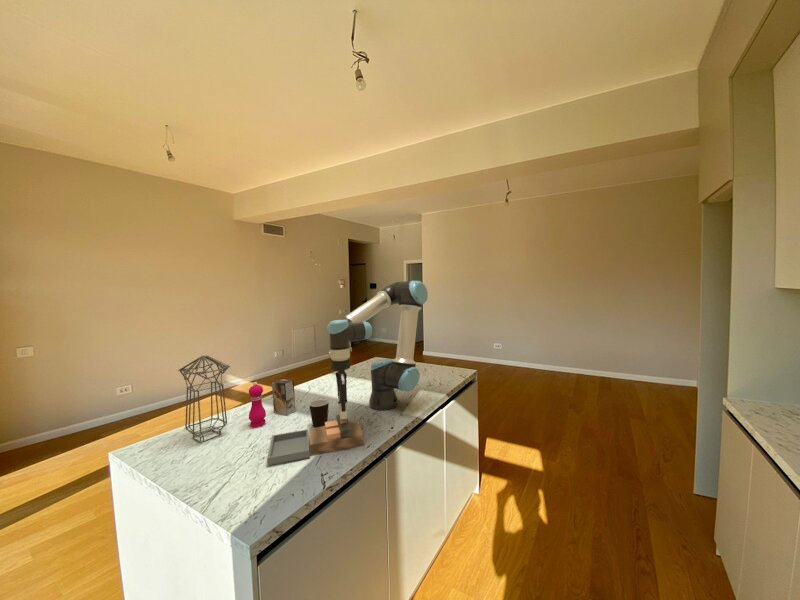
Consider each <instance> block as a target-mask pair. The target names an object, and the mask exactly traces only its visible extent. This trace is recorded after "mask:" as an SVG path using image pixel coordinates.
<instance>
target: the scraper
mask: <svg viewBox="0 0 800 600" xmlns="http://www.w3.org/2000/svg"><path fill="white" fill-rule="evenodd" d="M338 400H339V402H340V396H339V399H338ZM339 412H340V406H339V405H338V413H339ZM335 417H336V418H335V419H336V420H337V422H338V427H339V430H340V435H341V438H343V437H349V436H352V429H351V427H350V424H349V422H350V421H349V418H348V417H347V419H341V420H340V416H339V414H337V415H335Z"/></svg>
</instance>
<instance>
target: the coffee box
mask: <svg viewBox="0 0 800 600" xmlns="http://www.w3.org/2000/svg"><path fill="white" fill-rule="evenodd" d="M294 381H295V380H294V379H287V378H279V379H276V380H274V381H272V382H271V389H272V406H273V414H274V413H275V414H276V415H284V416H289V415H291V414H292V413H294V412H296V411H297V408H296V395H295V382H294Z"/></svg>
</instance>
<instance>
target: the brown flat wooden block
mask: <svg viewBox="0 0 800 600" xmlns="http://www.w3.org/2000/svg"><path fill="white" fill-rule="evenodd" d="M349 424H350V427H351V429H352V436H349V437H343V438H337V439H331V440H327V436H326V430H325V426H322V427H316V428H315V427H312V428H309V429H308V430H309V455H310V456H315V455H320V454H324V453H331V452H335V451H340V450H341V451H342V450H345V449H350V448H355V447H360V446H365V437H364V432H363V429H362V428H361V425H360V423H359V420H353V421H349ZM340 436H341V435H340Z"/></svg>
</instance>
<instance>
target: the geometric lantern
mask: <svg viewBox="0 0 800 600" xmlns="http://www.w3.org/2000/svg"><path fill="white" fill-rule="evenodd" d="M206 363H207V364H206ZM201 365H202V366H201ZM213 365H216V368H217V369H213ZM206 367H208V368H206ZM229 368H231V366H230V365H229V364H226V363H225V362H222V361H220V360H218V359H215V358H213V357H211V356H209V355H201V356H199V357H198V358H196V359H194V360H192V361H191V362H189V363H188V364H186V365H184V366H182V367H181V368H179V369H178V370H177V372H180V374H181V375H182V377H183V380H185V385H186V400H185V401H186V403H185V405H186V406H185V426H184V427H185V428H184V429H185V430H186V431H188V433H190V434H192V439H193V440H194V441H196V442H198V443H201V444H202V443H205V442H207V441H209V440H211V439H214V438H217V437H219V436H221V433H222V430H223V428H225V427H226V425H228V419H227V418H228V417H227V410H226V408H227V407H226V401H225V399H226V398H225V389H224V384H223V383H222V382H223V381H222V380H223V379H222V378H223V377H222V376H223V374H225V372H226V371H227V370H229ZM199 369H202V371H198V370H199ZM209 369H210V370H209ZM194 371H195V372H194ZM217 371H218V372H217ZM215 372H217V373H216V374H215ZM208 373H212V374H213V375H212V376H210V377H209V376H208V375H207V374H208ZM187 375H188V376H187ZM191 375H193V378H192V380H190V377H191ZM196 376H199V377H201V378H203V379H204V380H203V381H202V382H201V383H200V384H195V385H193V383H194V381H195V378H196ZM216 376H217V377H216ZM219 377H220V382H219V381H218V379H219ZM211 379H215V380H214V381H212V380H211ZM206 380H208V381H209V382H205V381H206ZM188 383H189V384H188ZM206 384H210V388H209V387H208V388H204V389H200V388H201V386H202V385H206ZM213 384H214V387H213ZM188 385H189V386H188ZM194 387H198V388H197V389H195V388H194ZM217 388H219V397H220V398H219V399H220V408H221V415H222V416H221V417H222V419H221V418H220V415H219V402H218V392H217ZM199 389H200V390H199ZM213 389H214V391H215V402H216V404H215V405H216V413H217V414H216V415H217V418H216V417H215V418H213V415H214V414H213V411H214V409H213V405H214V404H213ZM207 390H210V404H211V405H210V410H211V411H210V413H211V414H210V419H206V420H204V421H203V420H202V419H201V406H200V405H201V402H200V392H202V391H207ZM192 392H193V393H192ZM192 394H193V396H192ZM196 394H197V404H198V405H197V406H198V409H197V410H198V421H199V422H196V423H195V417H196V415H195V413H196V412H195V411H196V410H195V409H196V406H195V405H196ZM192 397H193V398H192ZM192 400H193V401H192ZM192 402H193V404H192ZM188 404H189V406H188ZM191 406H192V407H191ZM191 410H192V424H191ZM201 420H202V421H201ZM215 420H216V421H215ZM213 421H215V422H214V423H213V425H212V422H213ZM218 421H221V422H222V424H223V425H219V426H217V427H216V426H215V425H216V424H217V422H218ZM206 422H210V425H209V426H208V427H204V428H202V424H203V423H206ZM197 425H199V426H198V427H199V430H196V431H195V426H197ZM191 427H192V428H191ZM215 433H216V434H218V435H215V436H213V437H210V438H207V439H205V437H208V436H210V435H212V434H215ZM204 434H205V435H204ZM197 437H198V438H199V440H198V439H196V438H197Z"/></svg>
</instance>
